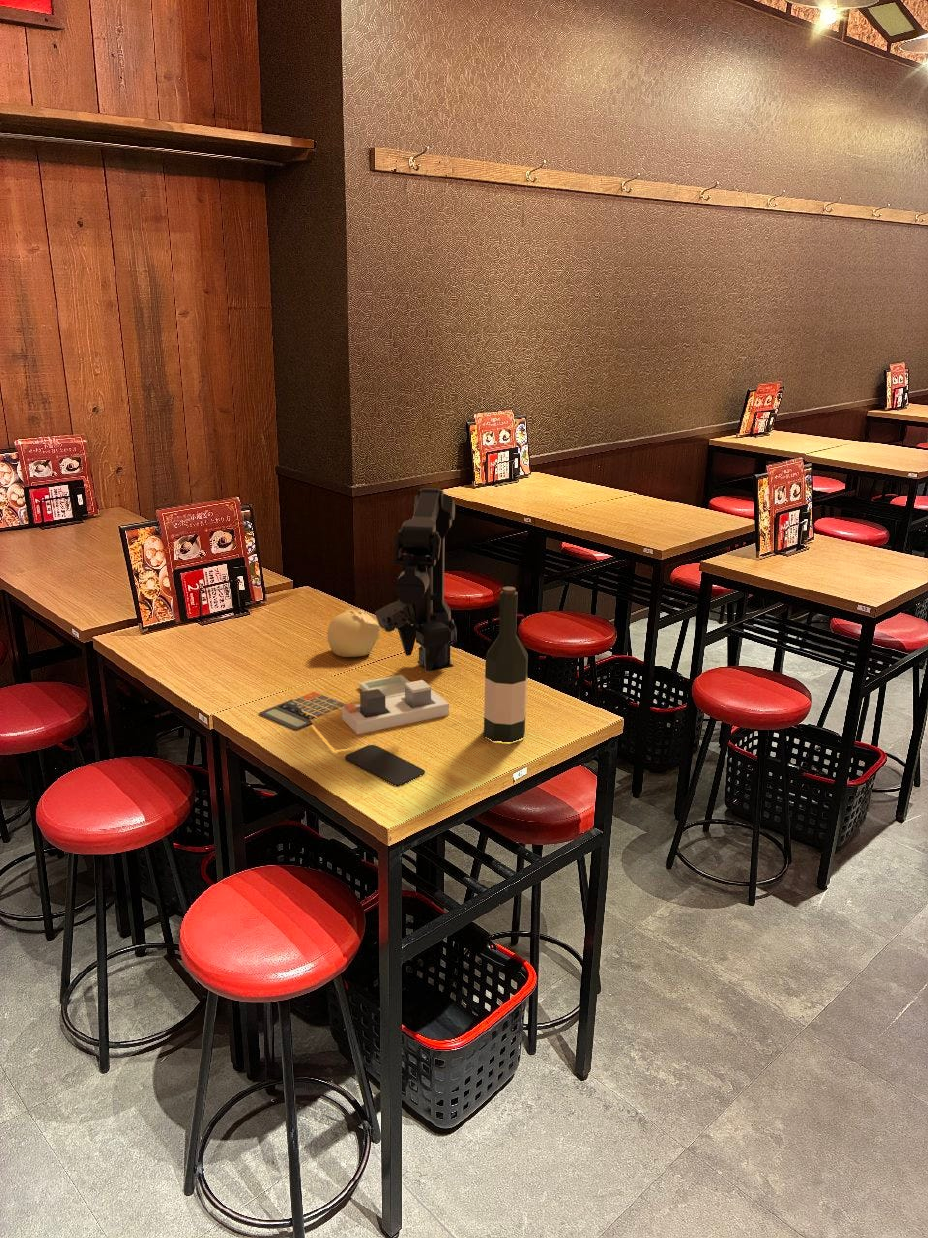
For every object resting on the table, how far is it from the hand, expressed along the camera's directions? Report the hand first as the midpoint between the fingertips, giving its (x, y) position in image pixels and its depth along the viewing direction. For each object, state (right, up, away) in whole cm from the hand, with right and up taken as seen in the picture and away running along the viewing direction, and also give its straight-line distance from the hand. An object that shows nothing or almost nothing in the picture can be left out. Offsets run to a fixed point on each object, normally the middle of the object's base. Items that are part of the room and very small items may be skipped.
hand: (418, 662), depth 181 cm
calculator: (-23, -11, +5) cm, 26 cm away
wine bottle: (+17, -14, -4) cm, 23 cm away
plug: (0, -10, +4) cm, 11 cm away
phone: (-5, -19, -17) cm, 26 cm away
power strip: (-5, -11, +2) cm, 12 cm away
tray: (-7, -7, +13) cm, 17 cm away
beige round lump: (-17, 0, +36) cm, 40 cm away
